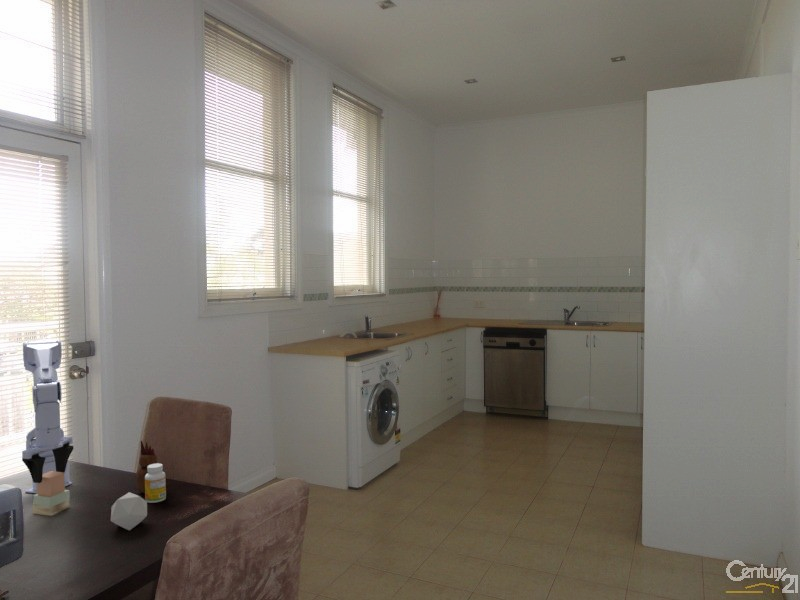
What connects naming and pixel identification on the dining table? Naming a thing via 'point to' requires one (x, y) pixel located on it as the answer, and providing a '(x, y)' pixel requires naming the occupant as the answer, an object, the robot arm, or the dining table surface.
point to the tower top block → (51, 499)
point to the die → (129, 511)
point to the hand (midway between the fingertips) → (49, 477)
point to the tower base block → (50, 508)
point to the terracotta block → (51, 484)
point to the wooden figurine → (144, 465)
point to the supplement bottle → (155, 483)
